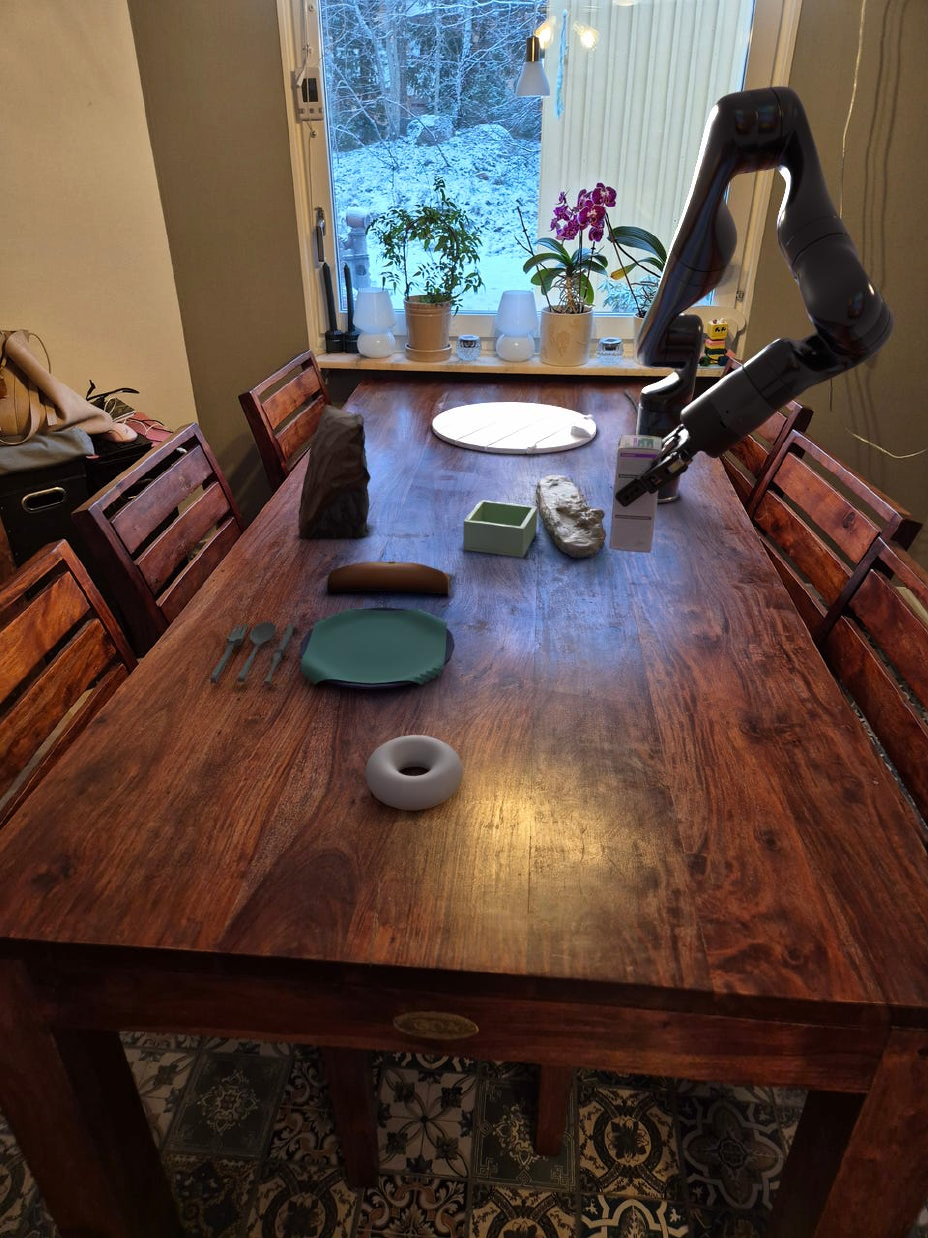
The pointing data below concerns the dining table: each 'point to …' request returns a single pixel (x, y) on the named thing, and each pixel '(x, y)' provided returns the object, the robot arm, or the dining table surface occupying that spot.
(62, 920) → the dining table surface
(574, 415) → the lazy susan
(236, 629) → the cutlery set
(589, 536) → the elongated rock
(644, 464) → the syrup box
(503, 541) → the socket
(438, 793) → the donut
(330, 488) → the dark brown rock
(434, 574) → the sunglasses case
